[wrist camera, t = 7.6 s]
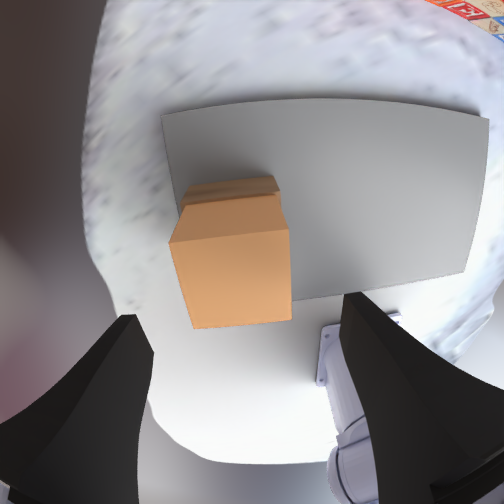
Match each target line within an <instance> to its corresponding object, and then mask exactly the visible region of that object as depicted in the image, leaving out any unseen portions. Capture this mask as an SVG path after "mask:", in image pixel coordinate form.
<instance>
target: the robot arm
mask: <svg viewBox="0 0 504 504" xmlns="http://www.w3.org/2000/svg"><path fill="white" fill-rule="evenodd" d="M401 320H402V315H401V313H395V314H390V315H387V314H386V313H384V312H383V311H382V310H381V309H380V308H379V307H378V306H377V305H376V304H374V303H373V302H372V301H371V300H370V299H369V298H368V297H367V296H365V295H364V294H363V293H362V292H361V291H360V292H353V293H347V294H344V299H343V307H342V315H341V323H340V324H336V325H329V326H325V327H324V328H323V329H322V331H321V342H320V352H319V361H318V370H317V378H316V386H317V387H323V386H326V389H327V393H328V397H329V401H330V405H331V409H332V414H333V418H334V422H335V426H336V429H337V431H338V433H339V435H337V436H336V438H337V442H338V446H336V447H334V448H333V449H332V451H331V453H330V457H329V459H328V463H327V476H328V481H329V484H330V488H331V490H332V492H333V494H334V496H335V497H336V499H337V500H338V501H339V502H340V503H341V504H504V390H503V389H500V388H498V387H495V386H493V385H491V384H488V383H485V382H484V381H482V380H480V379H478V378H475V377H474V376H472V375H470V374H468V373H466V372H464V371H462V370H461V369H459V368H457V367H455V366H454V365H452V364H451V363H449V362H447V361H446V360H444V359H443V358H441V357H440V356H438V355H437V354H435V353H434V352H432V351H431V350H430V349H428V348H427V347H426V346H424V345H423V344H422V343H420V342H419V341H418V340H416V339H415V338H414V337H413V336H411V335H410V334H409V333H408V332H406V331H405V330H404V329H403V328H402V327H400V323H401ZM327 334H328V335H327ZM153 357H154V352H153V350H152V348H151V346H150V344H149V342H148V339H147V337H146V335H145V333H144V331H143V329H142V327H141V325H140V322H139V320H138V318H137V316H136V314H132V315H121V316H120V317H119V318H118V319H117V320H116V321H115V322H114V323H113V324H112V325H111V326H110V327H109V328H108V329H107V330H106V331H105V333H104V334H103V335H102V336H101V337H100V338H99V339H98V340H97V342H96V343H95V344H94V345H93V346H92V347H91V348H90V349H89V351H88V352H87V353H86V354H85V355H84V356H83V357H82V358H81V359H80V360H79V361H78V362H77V363H76V364H75V365H74V366H73V367H72V369H71V370H70V371H69V372H68V373H67V374H66V375H65V376H64V377H63V378H62V379H61V380H60V381H58V383H56V384H55V385H54V386H53V387H52V388H51V389H50V390H48V391H47V392H46V393H45V394H44V395H42V396H41V397H40V398H39V399H37V400H36V401H35V402H33V403H32V404H31V405H29V406H28V407H27V408H26V409H24V410H23V411H21V412H20V413H18V414H16V415H15V416H13V417H12V418H10V419H8V420H7V421H5V422H3V423H1V424H0V480H1V481H3V482H4V483H6V484H8V485H9V486H10V489H9V488H7V487H6V486H4V485H3V484H1V483H0V504H139V498H138V481H137V458H138V441H139V432H140V426H141V421H142V416H143V412H144V408H145V403H146V399H147V394H148V390H149V386H150V381H151V376H152V368H153Z"/></svg>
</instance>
